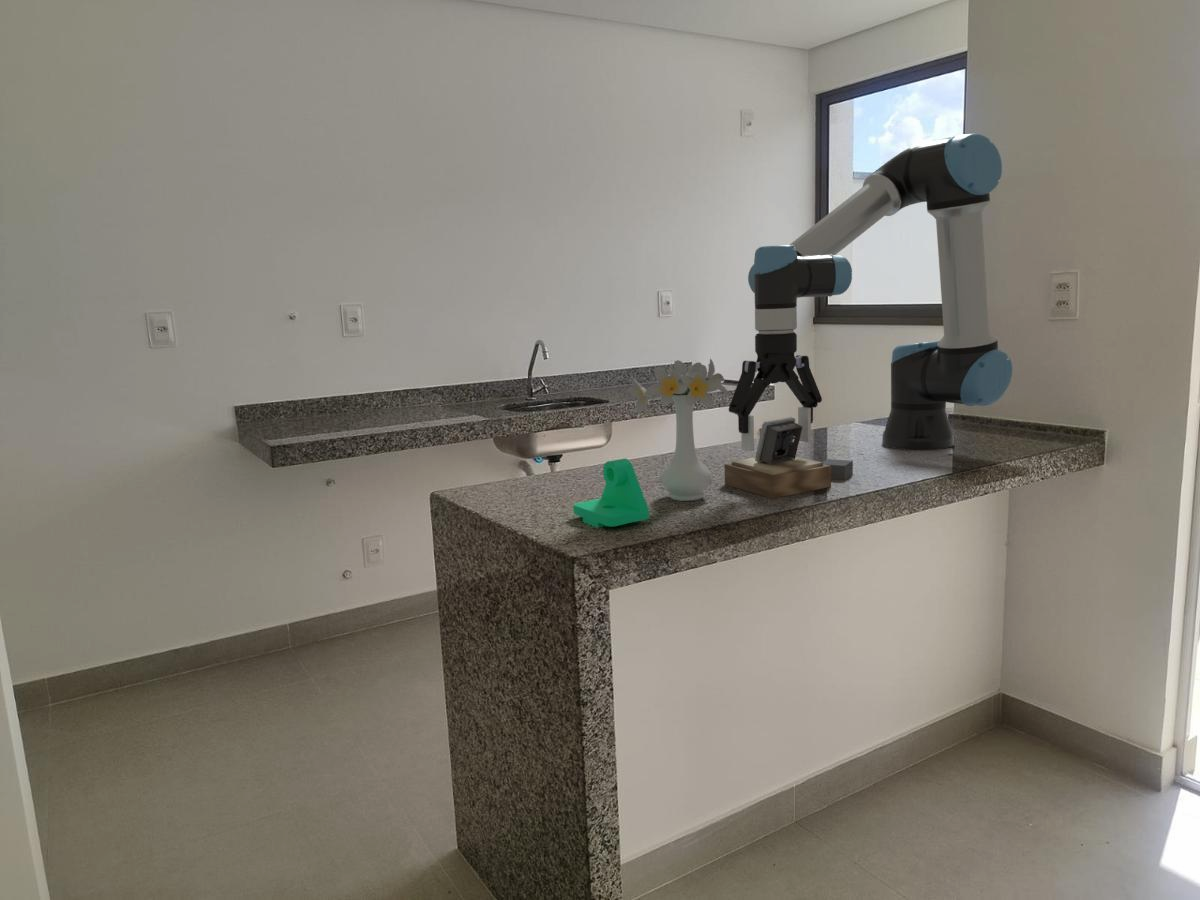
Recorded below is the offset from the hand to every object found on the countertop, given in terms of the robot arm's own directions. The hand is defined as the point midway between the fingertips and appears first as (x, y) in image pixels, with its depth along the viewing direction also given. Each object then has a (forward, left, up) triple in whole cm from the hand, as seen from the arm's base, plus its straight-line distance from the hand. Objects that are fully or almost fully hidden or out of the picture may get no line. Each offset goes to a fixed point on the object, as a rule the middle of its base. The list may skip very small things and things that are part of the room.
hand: (776, 445), depth 162 cm
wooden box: (0, 0, -8) cm, 8 cm away
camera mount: (+37, +2, -8) cm, 38 cm away
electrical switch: (-1, 0, -3) cm, 3 cm away
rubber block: (-14, +1, -8) cm, 16 cm away
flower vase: (+19, -3, -8) cm, 21 cm away
